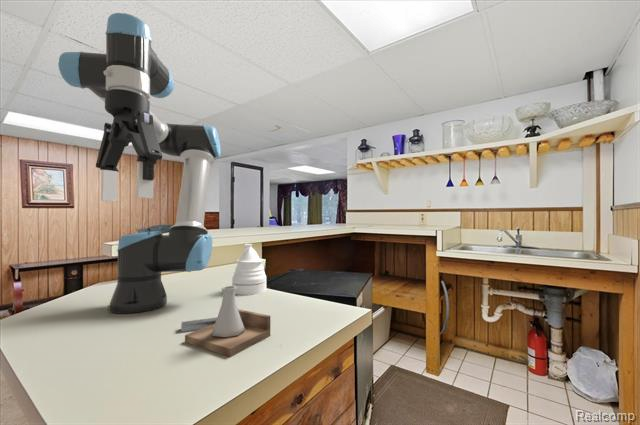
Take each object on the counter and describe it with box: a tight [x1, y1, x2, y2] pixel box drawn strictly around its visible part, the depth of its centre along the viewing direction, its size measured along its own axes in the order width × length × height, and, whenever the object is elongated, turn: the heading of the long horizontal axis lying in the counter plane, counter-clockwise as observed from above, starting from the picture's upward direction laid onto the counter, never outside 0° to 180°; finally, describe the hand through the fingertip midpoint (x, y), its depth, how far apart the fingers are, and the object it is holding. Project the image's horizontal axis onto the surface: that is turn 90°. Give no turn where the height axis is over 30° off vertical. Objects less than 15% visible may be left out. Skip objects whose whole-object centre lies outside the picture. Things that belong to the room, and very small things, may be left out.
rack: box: [184, 308, 271, 358], centre depth 64 cm, size 14×12×4 cm
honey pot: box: [231, 243, 267, 296], centre depth 110 cm, size 13×13×18 cm
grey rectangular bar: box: [180, 316, 218, 333], centre depth 71 cm, size 2×10×2 cm, turn 114°
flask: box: [212, 285, 245, 337], centre depth 64 cm, size 7×7×10 cm
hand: (125, 199), depth 57 cm, fingers open, 13 cm apart
